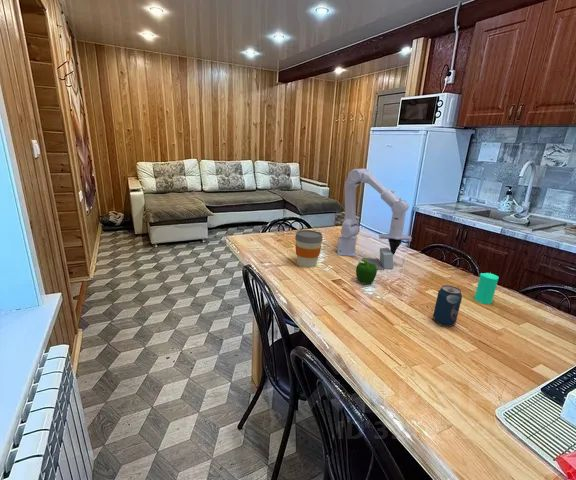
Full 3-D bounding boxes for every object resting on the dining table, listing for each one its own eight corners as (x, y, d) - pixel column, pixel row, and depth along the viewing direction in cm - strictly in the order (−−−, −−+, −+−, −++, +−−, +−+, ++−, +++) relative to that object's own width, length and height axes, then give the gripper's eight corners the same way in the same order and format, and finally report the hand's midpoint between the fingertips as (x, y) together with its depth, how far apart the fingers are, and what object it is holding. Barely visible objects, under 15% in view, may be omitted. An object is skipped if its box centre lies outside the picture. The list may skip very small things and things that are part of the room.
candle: (489, 298, 123) (497, 270, 119) (493, 305, 117) (502, 276, 114) (472, 295, 124) (479, 267, 121) (475, 302, 119) (483, 273, 115)
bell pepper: (378, 282, 132) (382, 260, 129) (369, 288, 126) (372, 265, 123) (361, 276, 137) (364, 254, 134) (351, 281, 131) (354, 259, 128)
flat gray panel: (366, 268, 145) (366, 268, 145) (362, 258, 159) (362, 257, 159) (384, 270, 145) (384, 269, 145) (378, 259, 158) (378, 259, 158)
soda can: (454, 330, 100) (462, 296, 96) (430, 322, 103) (438, 289, 99) (456, 320, 105) (464, 288, 102) (434, 313, 109) (440, 282, 105)
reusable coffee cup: (289, 265, 144) (291, 234, 139) (298, 257, 155) (300, 228, 150) (315, 271, 139) (318, 239, 135) (323, 262, 151) (326, 232, 146)
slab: (384, 269, 147) (384, 255, 145) (380, 261, 156) (379, 248, 154) (393, 268, 146) (392, 254, 144) (388, 260, 156) (388, 247, 154)
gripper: (382, 227, 142) (378, 255, 146) (415, 230, 141) (410, 258, 145) (379, 223, 149) (375, 250, 153) (410, 226, 148) (405, 253, 152)
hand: (392, 254), depth 149 cm, fingers closed
